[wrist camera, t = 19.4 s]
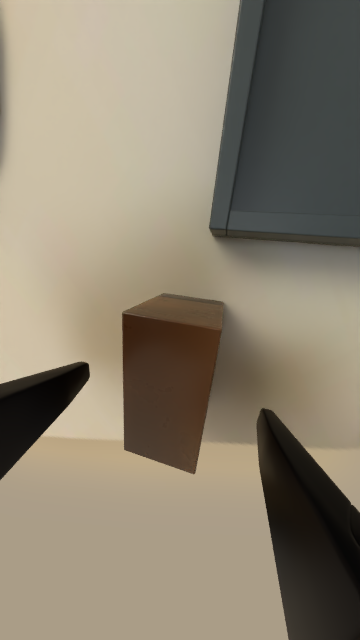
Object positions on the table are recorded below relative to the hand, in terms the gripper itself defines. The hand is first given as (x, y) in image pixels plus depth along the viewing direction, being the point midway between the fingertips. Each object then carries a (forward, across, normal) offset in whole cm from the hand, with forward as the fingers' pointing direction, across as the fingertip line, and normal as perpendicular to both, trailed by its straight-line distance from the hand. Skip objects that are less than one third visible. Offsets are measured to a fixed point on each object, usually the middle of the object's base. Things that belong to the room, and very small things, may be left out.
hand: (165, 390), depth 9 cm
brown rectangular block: (+4, 0, 0) cm, 4 cm away
